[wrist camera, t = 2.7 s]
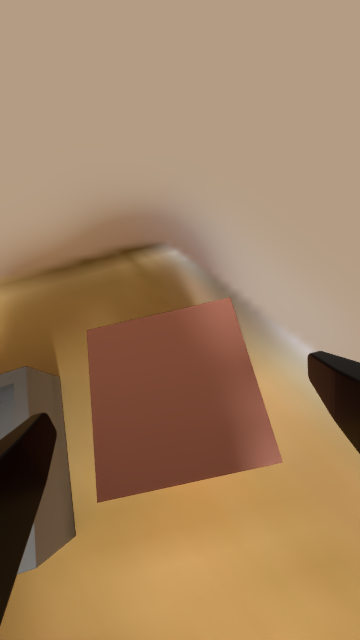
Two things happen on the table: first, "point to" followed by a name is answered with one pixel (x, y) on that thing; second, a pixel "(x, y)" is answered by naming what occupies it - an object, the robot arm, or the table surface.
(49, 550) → the open box
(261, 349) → the table surface
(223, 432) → the red block
